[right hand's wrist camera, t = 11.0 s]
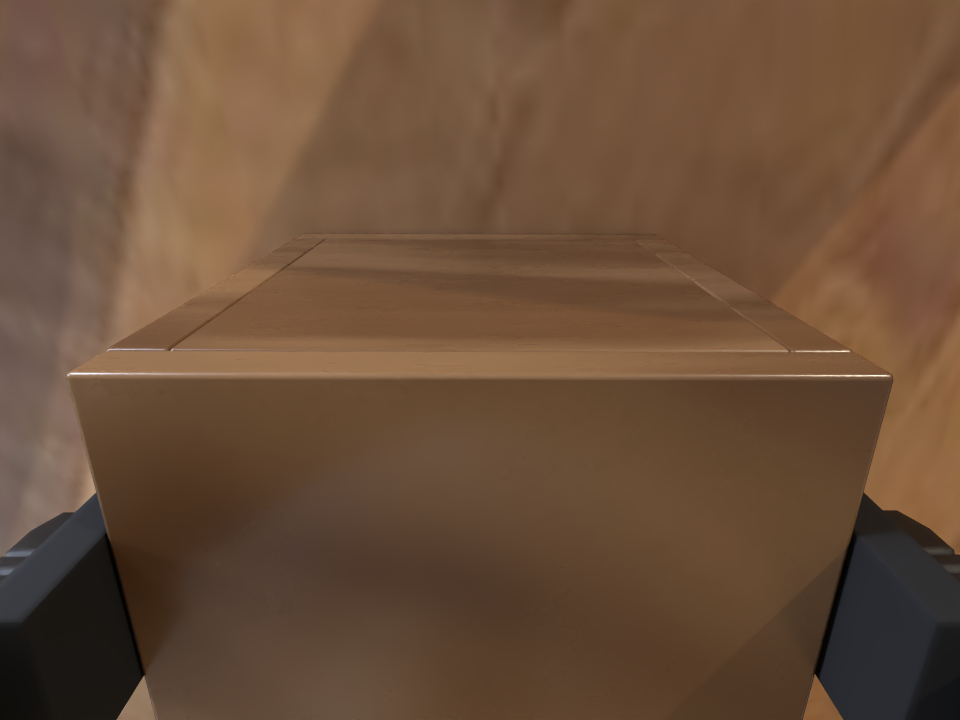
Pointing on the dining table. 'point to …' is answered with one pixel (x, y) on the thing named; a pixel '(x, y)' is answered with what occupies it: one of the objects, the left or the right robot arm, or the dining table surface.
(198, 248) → the dining table surface
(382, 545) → the cabinet
